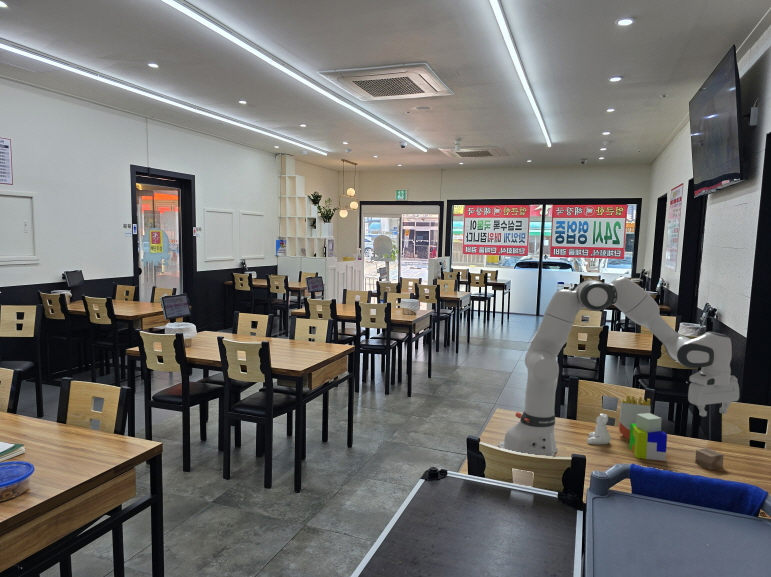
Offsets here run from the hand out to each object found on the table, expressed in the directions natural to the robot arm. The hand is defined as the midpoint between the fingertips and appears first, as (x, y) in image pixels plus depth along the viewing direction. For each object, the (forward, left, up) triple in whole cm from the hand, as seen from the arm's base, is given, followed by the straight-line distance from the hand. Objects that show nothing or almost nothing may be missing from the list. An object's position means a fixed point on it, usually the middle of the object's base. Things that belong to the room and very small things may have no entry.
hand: (713, 414), depth 182 cm
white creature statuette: (-24, +29, -19) cm, 42 cm away
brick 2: (0, 0, -19) cm, 19 cm away
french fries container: (-7, +29, -19) cm, 36 cm away
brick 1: (-15, +14, -9) cm, 22 cm away
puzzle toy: (-15, +14, -19) cm, 28 cm away
